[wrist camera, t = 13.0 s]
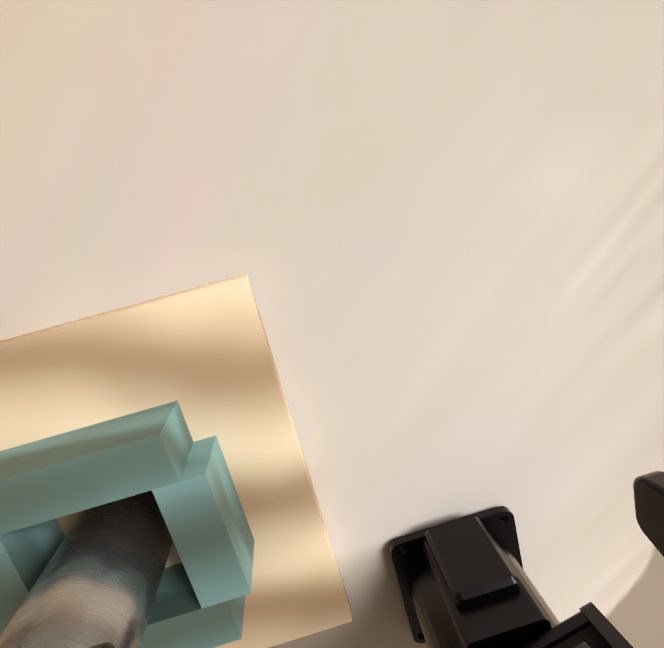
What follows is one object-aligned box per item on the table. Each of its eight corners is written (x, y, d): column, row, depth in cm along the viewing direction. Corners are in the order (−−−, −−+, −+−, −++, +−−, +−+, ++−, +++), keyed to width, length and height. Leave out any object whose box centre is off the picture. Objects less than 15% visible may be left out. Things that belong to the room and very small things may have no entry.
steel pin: (190, 544, 20) (112, 842, 11) (103, 570, 20) (-56, 898, 11) (159, 469, 19) (42, 725, 10) (67, 496, 19) (-146, 785, 9)
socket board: (349, 604, 23) (363, 681, 20) (45, 700, 23) (-2, 800, 19) (246, 273, 19) (239, 289, 15) (-141, 379, 18) (-255, 424, 14)
